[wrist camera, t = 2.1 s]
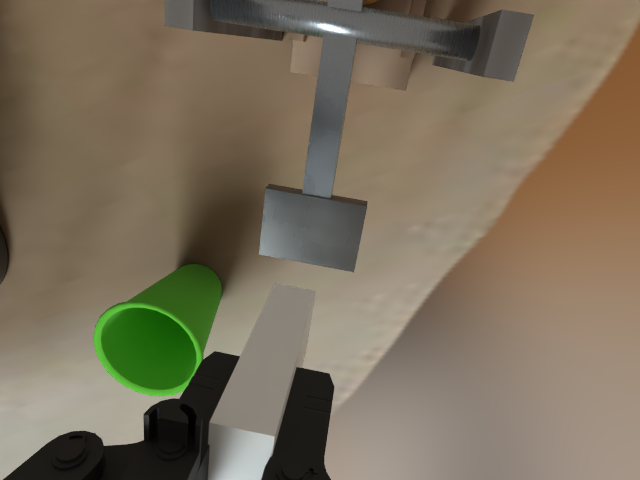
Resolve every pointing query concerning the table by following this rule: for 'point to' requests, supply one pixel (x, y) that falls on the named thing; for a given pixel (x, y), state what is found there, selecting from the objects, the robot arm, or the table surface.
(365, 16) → the lever
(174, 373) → the cup
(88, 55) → the table surface
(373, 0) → the ball
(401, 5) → the grey angular frame
